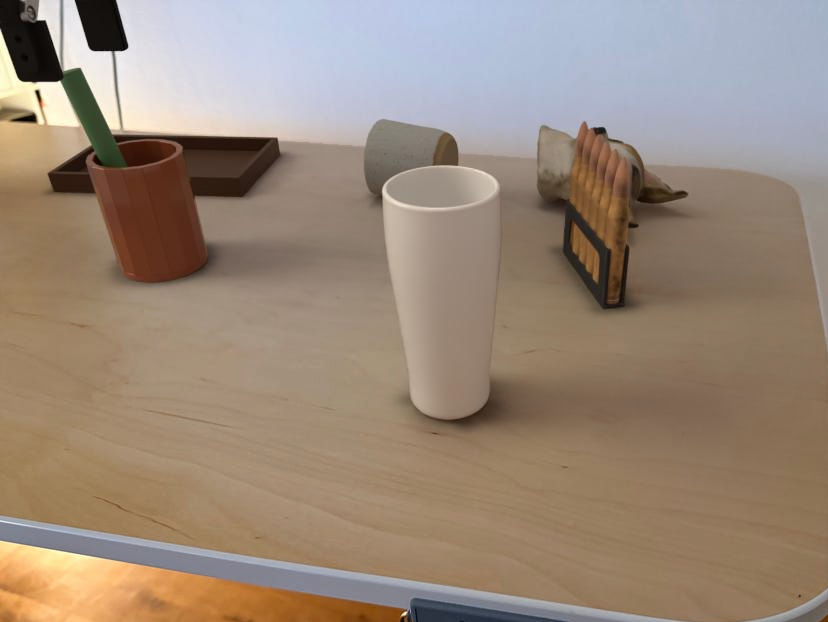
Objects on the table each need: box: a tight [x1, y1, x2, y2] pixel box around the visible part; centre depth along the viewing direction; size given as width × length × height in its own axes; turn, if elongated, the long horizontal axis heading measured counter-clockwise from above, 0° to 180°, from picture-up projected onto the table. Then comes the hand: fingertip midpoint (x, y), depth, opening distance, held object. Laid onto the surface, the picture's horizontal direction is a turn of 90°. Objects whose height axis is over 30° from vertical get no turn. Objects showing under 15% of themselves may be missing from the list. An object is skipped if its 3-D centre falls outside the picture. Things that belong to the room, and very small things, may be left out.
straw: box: [59, 67, 128, 168], centre depth 62 cm, size 4×2×16 cm, turn 85°
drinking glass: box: [381, 165, 503, 421], centre depth 46 cm, size 7×7×15 cm
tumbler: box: [86, 139, 209, 283], centre depth 64 cm, size 7×7×10 cm
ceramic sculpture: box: [536, 124, 689, 229], centre depth 73 cm, size 11×9×15 cm
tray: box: [47, 133, 281, 197], centre depth 85 cm, size 13×21×2 cm, turn 85°
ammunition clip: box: [562, 120, 631, 309], centre depth 61 cm, size 11×2×12 cm, turn 12°
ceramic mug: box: [363, 118, 460, 196], centre depth 78 cm, size 11×8×8 cm
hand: (78, 64), depth 58 cm, fingers open, 9 cm apart
